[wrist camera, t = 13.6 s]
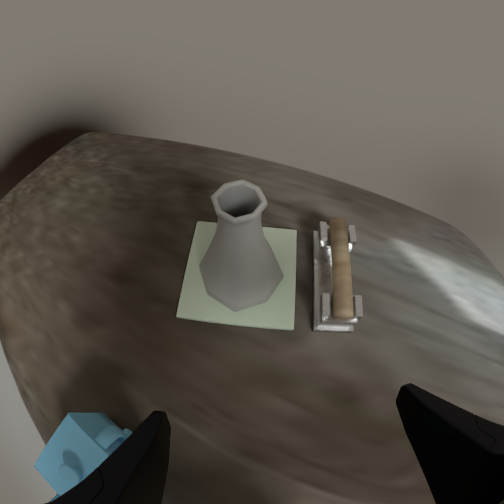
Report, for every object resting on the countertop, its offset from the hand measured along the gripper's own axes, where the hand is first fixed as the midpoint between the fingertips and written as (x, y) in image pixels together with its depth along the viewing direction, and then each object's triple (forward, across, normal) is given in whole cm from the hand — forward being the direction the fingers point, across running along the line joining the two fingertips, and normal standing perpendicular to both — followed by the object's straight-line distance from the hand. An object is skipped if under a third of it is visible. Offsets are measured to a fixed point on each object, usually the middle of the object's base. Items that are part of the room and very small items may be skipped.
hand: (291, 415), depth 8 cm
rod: (+15, -7, 0) cm, 16 cm away
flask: (+17, +1, 0) cm, 17 cm away
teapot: (+4, +14, +14) cm, 20 cm away
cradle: (+16, -7, +2) cm, 18 cm away
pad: (+17, +1, 0) cm, 17 cm away
